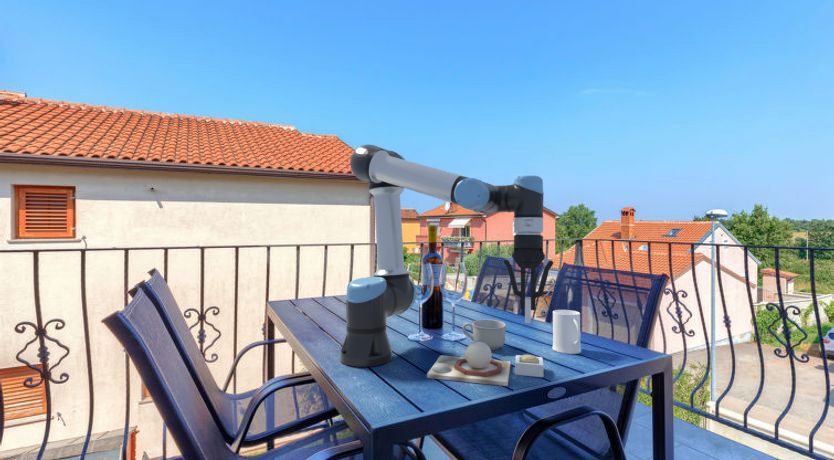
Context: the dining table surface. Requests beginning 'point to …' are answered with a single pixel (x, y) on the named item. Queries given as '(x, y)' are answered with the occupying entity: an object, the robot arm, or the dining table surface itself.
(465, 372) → the picture board
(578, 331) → the mug
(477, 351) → the white ball
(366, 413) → the dining table surface
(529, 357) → the button
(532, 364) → the button housing
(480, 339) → the teacup
